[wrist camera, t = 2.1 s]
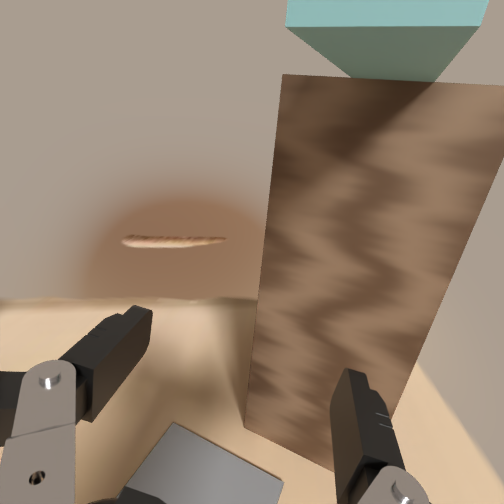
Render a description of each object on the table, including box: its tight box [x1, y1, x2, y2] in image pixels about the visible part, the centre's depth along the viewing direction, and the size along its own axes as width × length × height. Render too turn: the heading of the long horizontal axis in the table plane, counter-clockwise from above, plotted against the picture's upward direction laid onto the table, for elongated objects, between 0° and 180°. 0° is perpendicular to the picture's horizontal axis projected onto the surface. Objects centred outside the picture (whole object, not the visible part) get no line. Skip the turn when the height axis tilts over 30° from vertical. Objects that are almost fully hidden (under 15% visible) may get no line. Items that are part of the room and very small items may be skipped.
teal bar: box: [285, 0, 489, 82], centre depth 17 cm, size 4×28×4 cm, turn 155°
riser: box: [244, 74, 504, 473], centre depth 30 cm, size 12×18×32 cm, turn 155°
